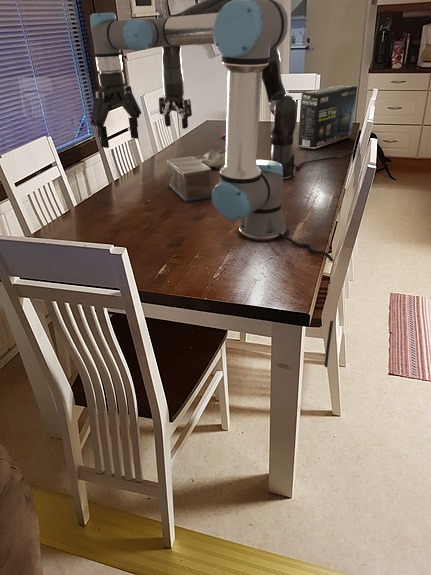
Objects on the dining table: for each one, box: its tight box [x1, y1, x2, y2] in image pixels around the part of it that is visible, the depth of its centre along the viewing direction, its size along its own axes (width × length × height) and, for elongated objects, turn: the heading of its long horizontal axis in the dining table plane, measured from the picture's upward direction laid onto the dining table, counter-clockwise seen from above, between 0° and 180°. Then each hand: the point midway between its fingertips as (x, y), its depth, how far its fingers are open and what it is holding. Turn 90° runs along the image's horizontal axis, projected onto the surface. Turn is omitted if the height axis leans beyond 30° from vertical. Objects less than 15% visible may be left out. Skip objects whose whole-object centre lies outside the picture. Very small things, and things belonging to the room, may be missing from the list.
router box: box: [297, 84, 358, 151], centre depth 238 cm, size 36×11×27 cm, turn 134°
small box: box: [166, 155, 213, 203], centre depth 183 cm, size 21×11×11 cm, turn 22°
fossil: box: [195, 147, 226, 170], centre depth 217 cm, size 18×11×15 cm
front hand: (120, 142), depth 151 cm, fingers open, 13 cm apart
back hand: (176, 127), depth 176 cm, fingers open, 8 cm apart
